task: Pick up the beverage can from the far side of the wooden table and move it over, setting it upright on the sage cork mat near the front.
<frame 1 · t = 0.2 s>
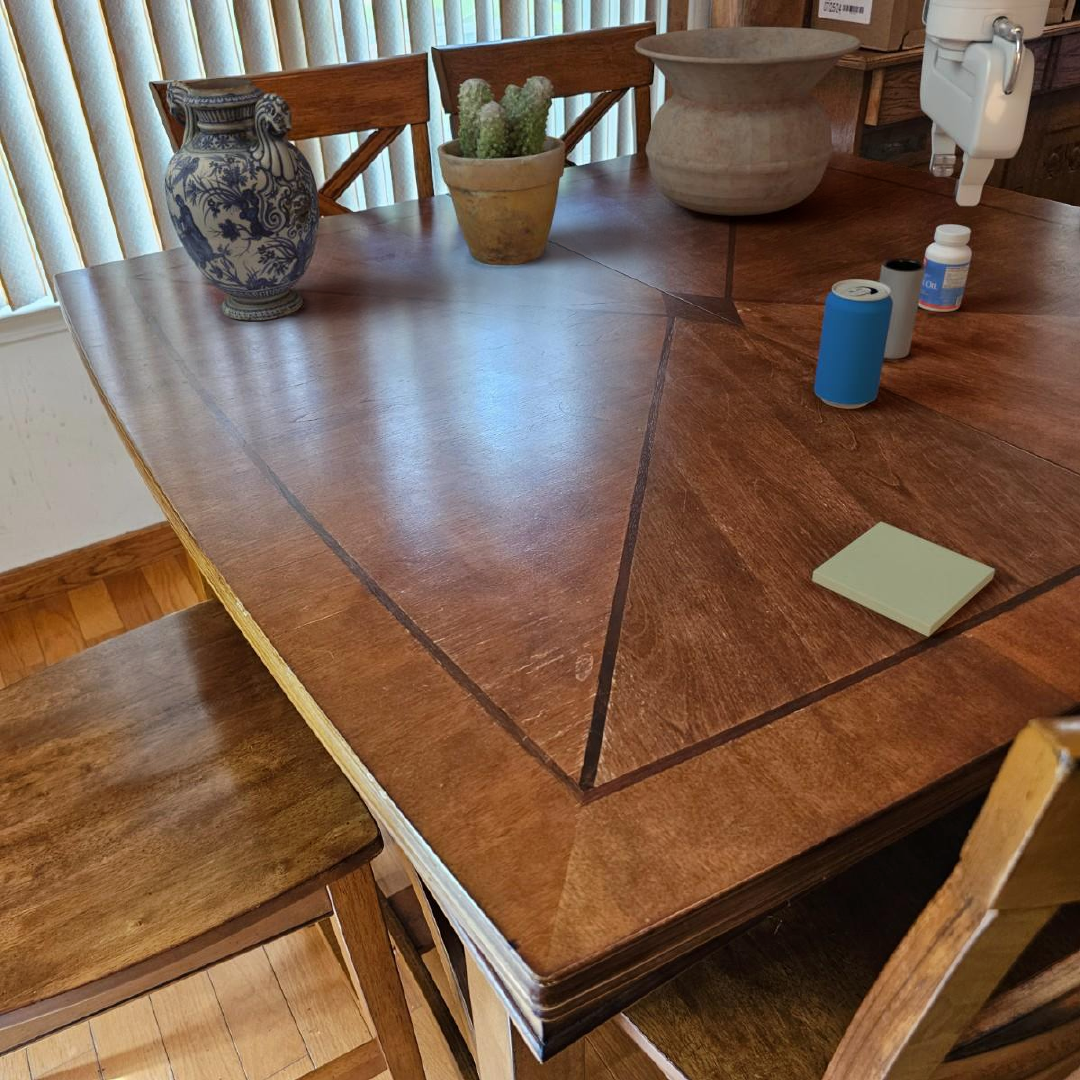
hand: (952, 188, 86), 23 cm above the table, tool pointing down, fingers open, 8 cm apart
potted plant: (507, 254, 149), on the table
decorative vase: (264, 308, 134), on the table
mat: (901, 580, 78), on the table
grey cup: (888, 353, 115), on the table
pot: (733, 208, 165), on the table
beverage can: (844, 399, 105), on the table
pill bottle: (937, 306, 126), on the table
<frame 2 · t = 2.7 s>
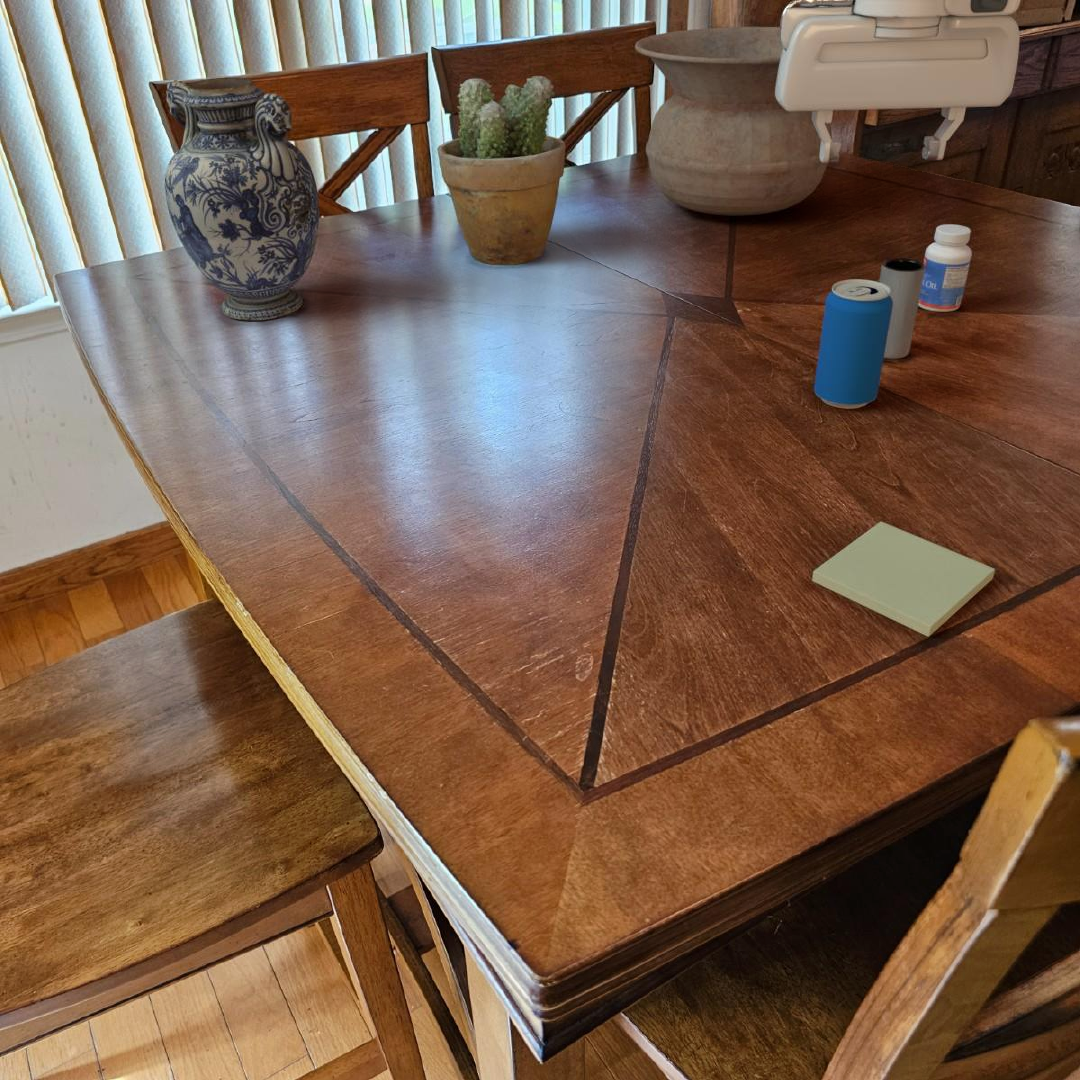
hand: (880, 159, 91), 24 cm above the table, tool pointing down, fingers open, 8 cm apart
nothing on the table moved.
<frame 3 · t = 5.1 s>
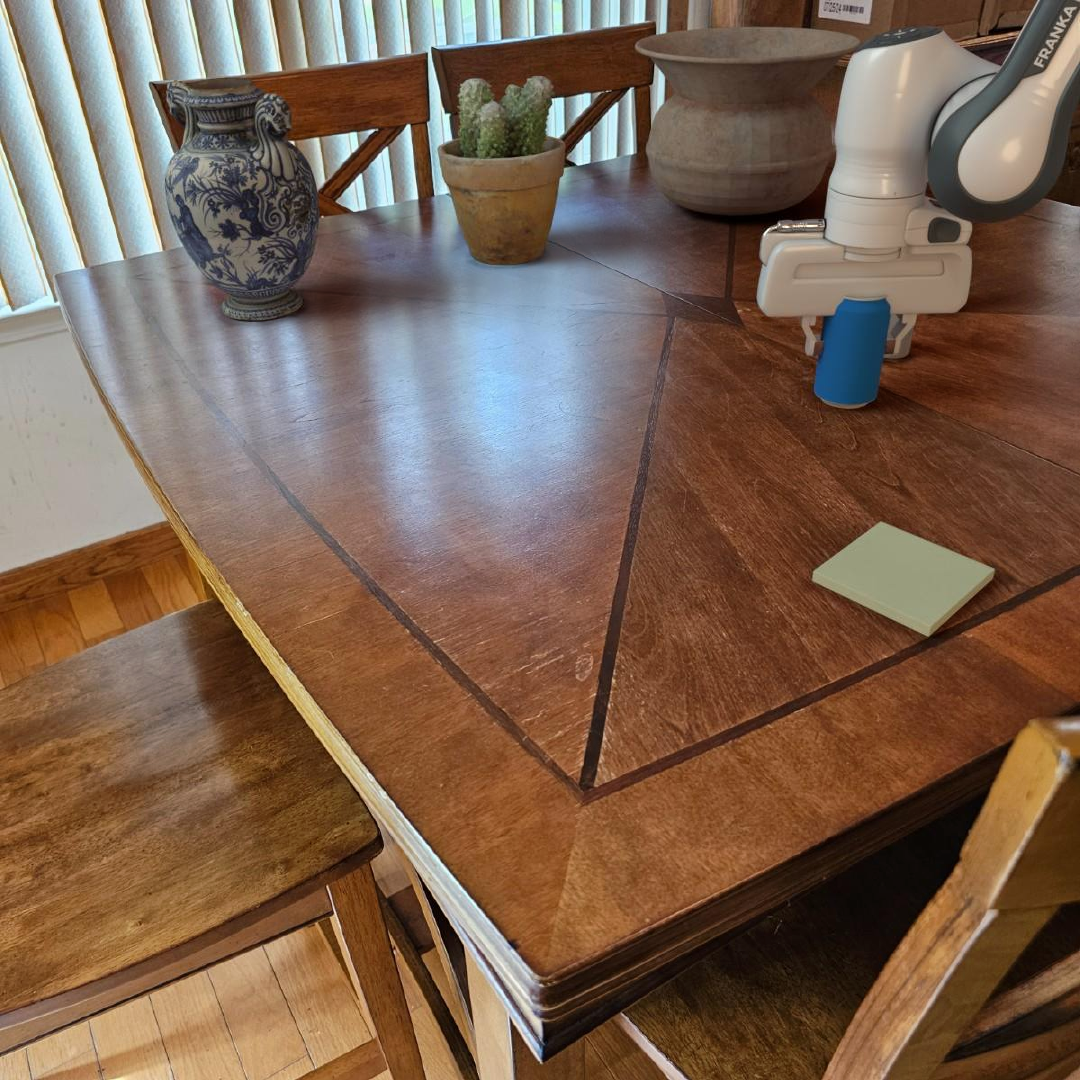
hand: (851, 353, 102), 5 cm above the table, tool pointing down, fingers closed on beverage can, 6 cm apart
beverage can: (843, 399, 105), on the table, touching gripper
everything else where it was.
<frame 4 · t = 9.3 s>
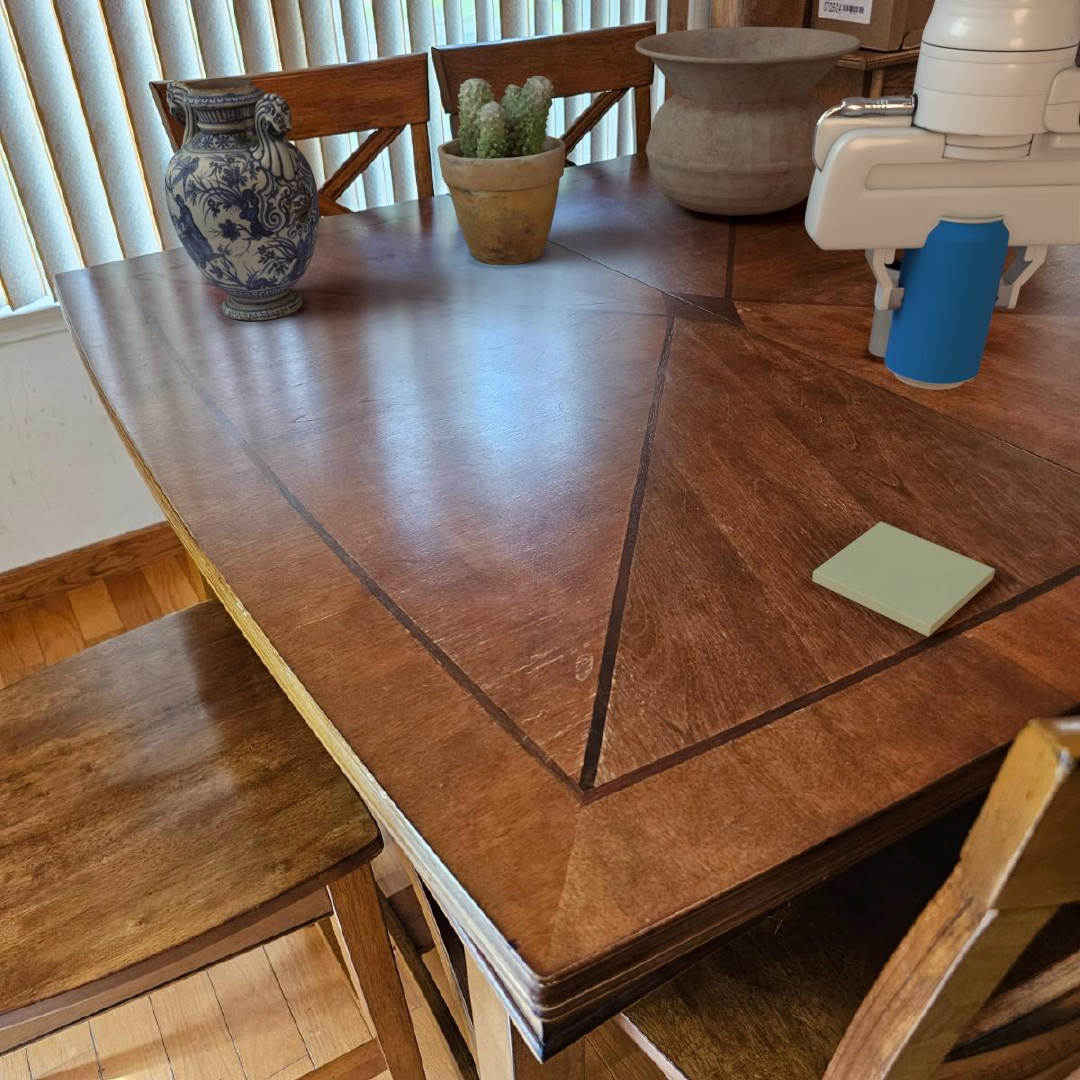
hand: (943, 307, 69), 21 cm above the table, tool pointing down, fingers closed on beverage can, 6 cm apart
beverage can: (928, 377, 72), point 16 cm above the table, touching gripper
everything else where it was.
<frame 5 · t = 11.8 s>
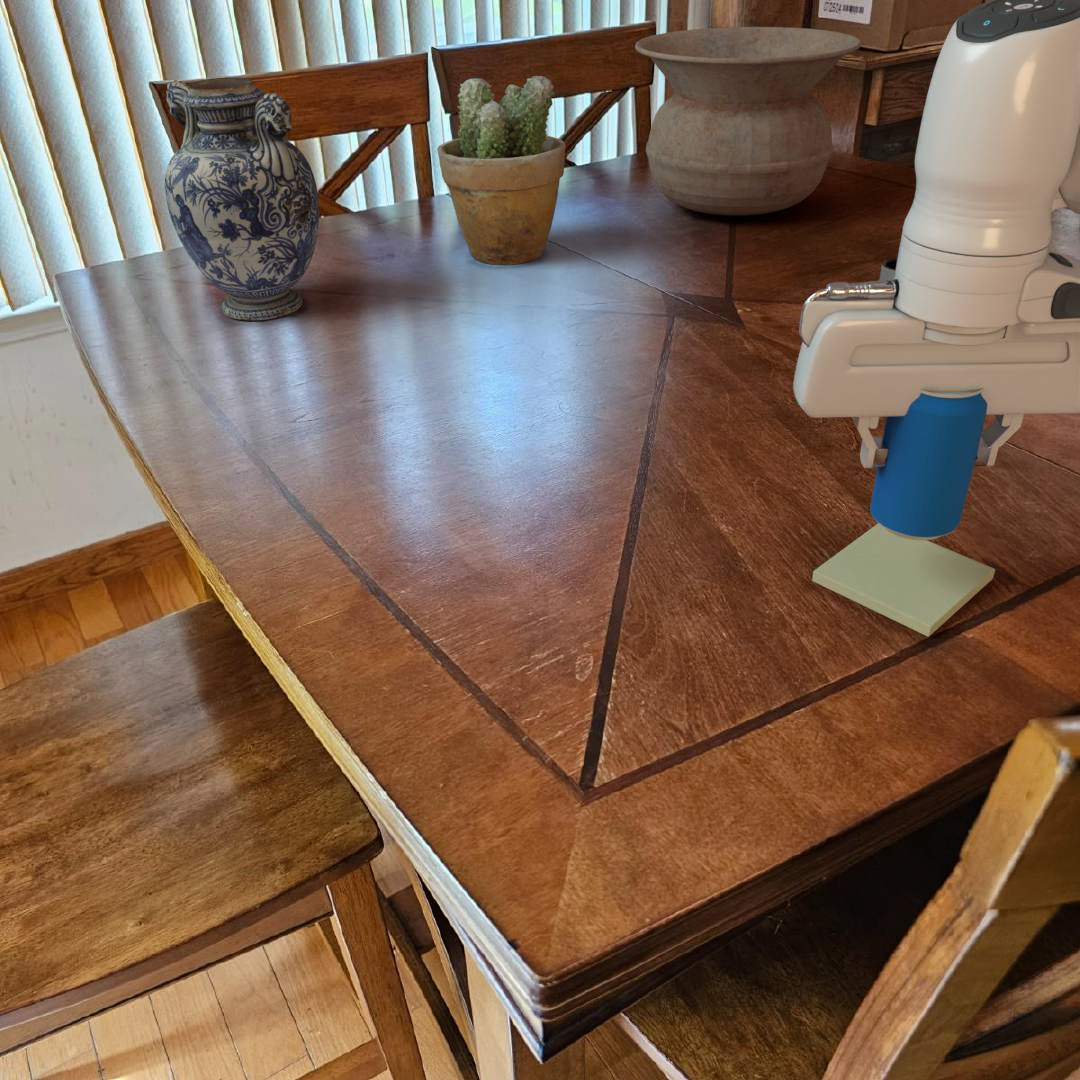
hand: (925, 463, 72), 11 cm above the table, tool pointing down, fingers closed on beverage can, 6 cm apart
beverage can: (912, 524, 75), point 5 cm above the table, touching gripper
everything else where it was.
when the fingers open (6 cm above the table, at t = 13.5 s): beverage can stays where it is, resting on mat.
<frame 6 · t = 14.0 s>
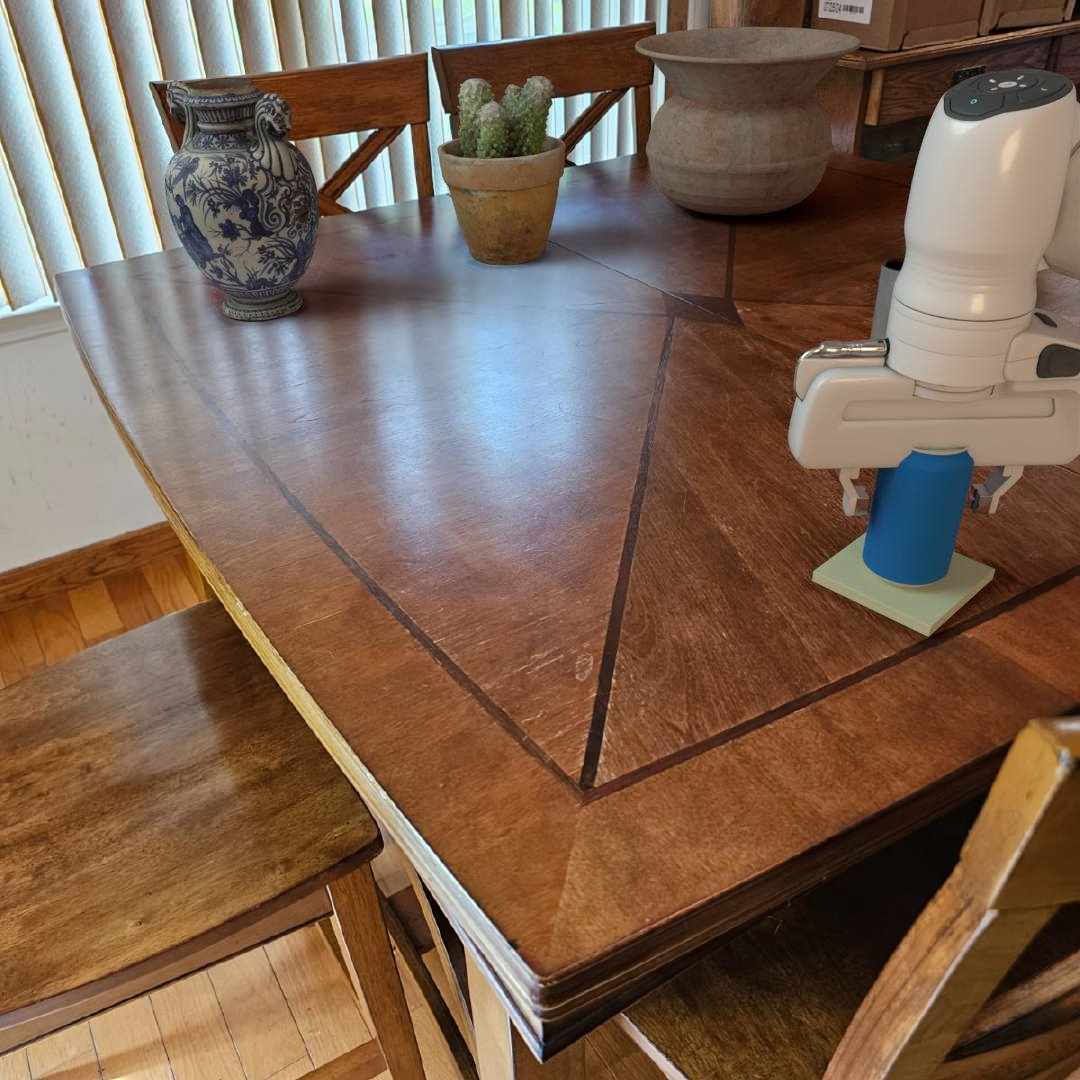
hand: (917, 511, 74), 6 cm above the table, tool pointing down, fingers open, 8 cm apart
beverage can: (903, 570, 78), point 1 cm above the table, touching mat
everything else where it was.
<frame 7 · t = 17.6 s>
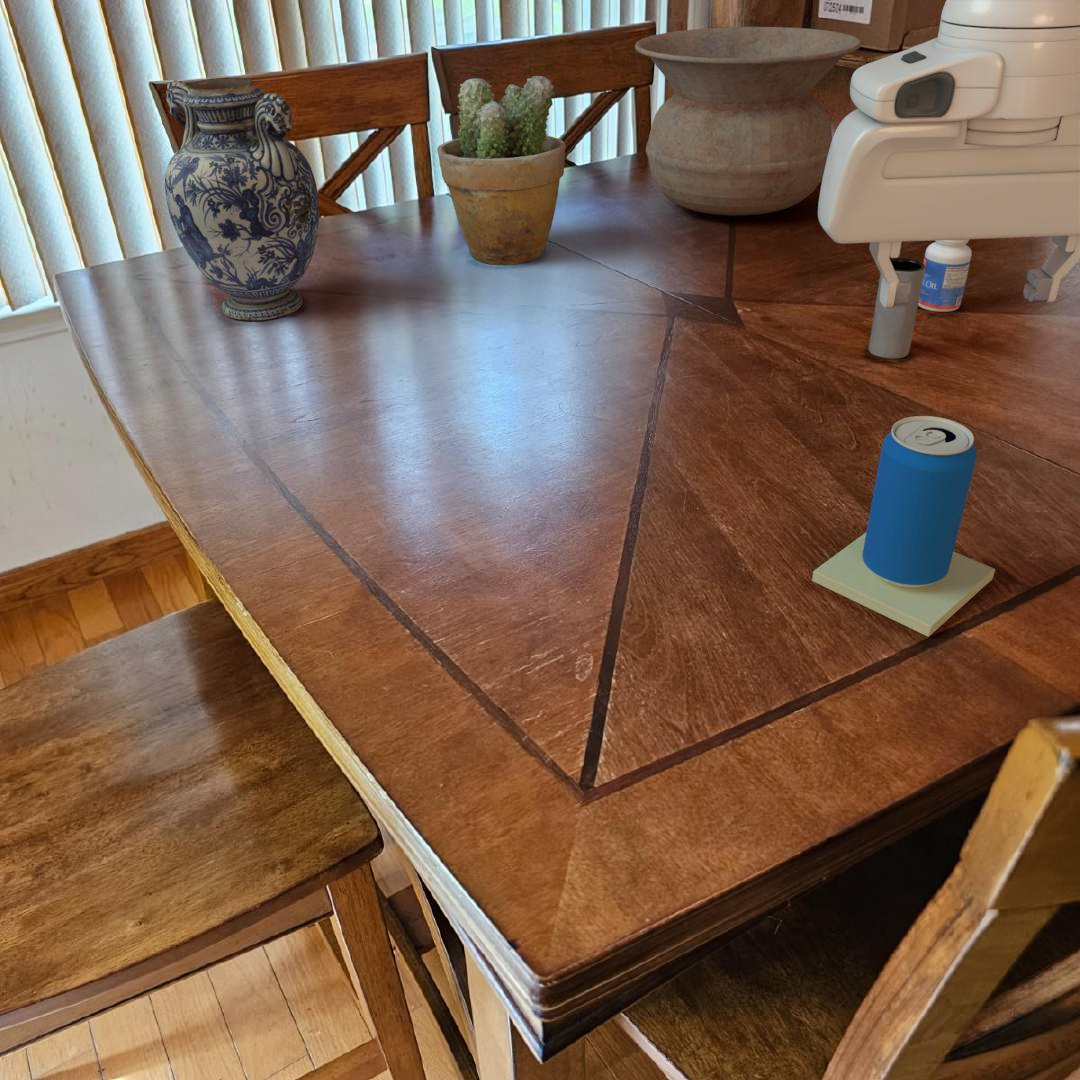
hand: (965, 302, 65), 23 cm above the table, tool pointing down, fingers open, 8 cm apart
nothing on the table moved.
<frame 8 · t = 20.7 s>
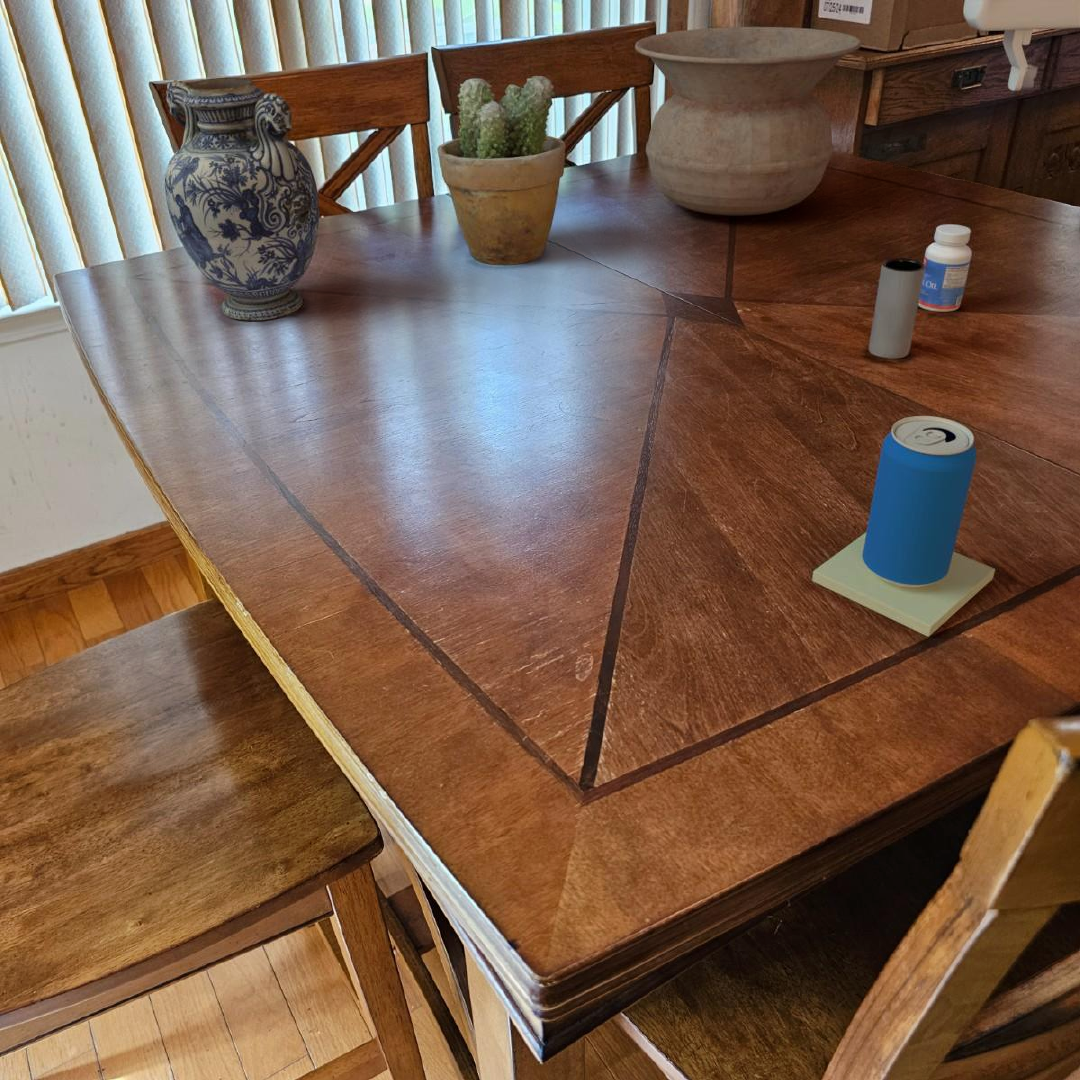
hand: (1077, 88, 82), 31 cm above the table, tool pointing down, fingers open, 8 cm apart
nothing on the table moved.
at the end: beverage can inside the target area on the mat (0.1 cm from its centre), point 0.8 cm above the mat's base; beverage can tilted 0°; the gripper is holding nothing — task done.
